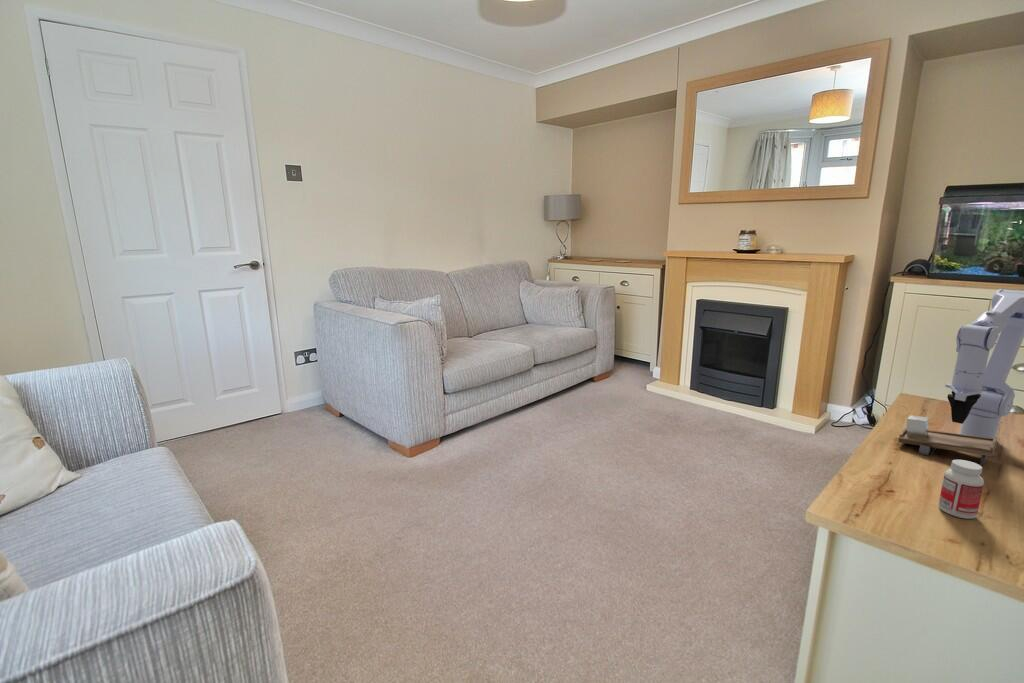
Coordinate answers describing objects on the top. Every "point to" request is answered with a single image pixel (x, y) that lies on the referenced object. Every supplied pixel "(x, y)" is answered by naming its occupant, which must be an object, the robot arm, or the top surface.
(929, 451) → the beam stand
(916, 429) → the block
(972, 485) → the pill bottle
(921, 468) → the top surface
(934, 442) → the balance beam
